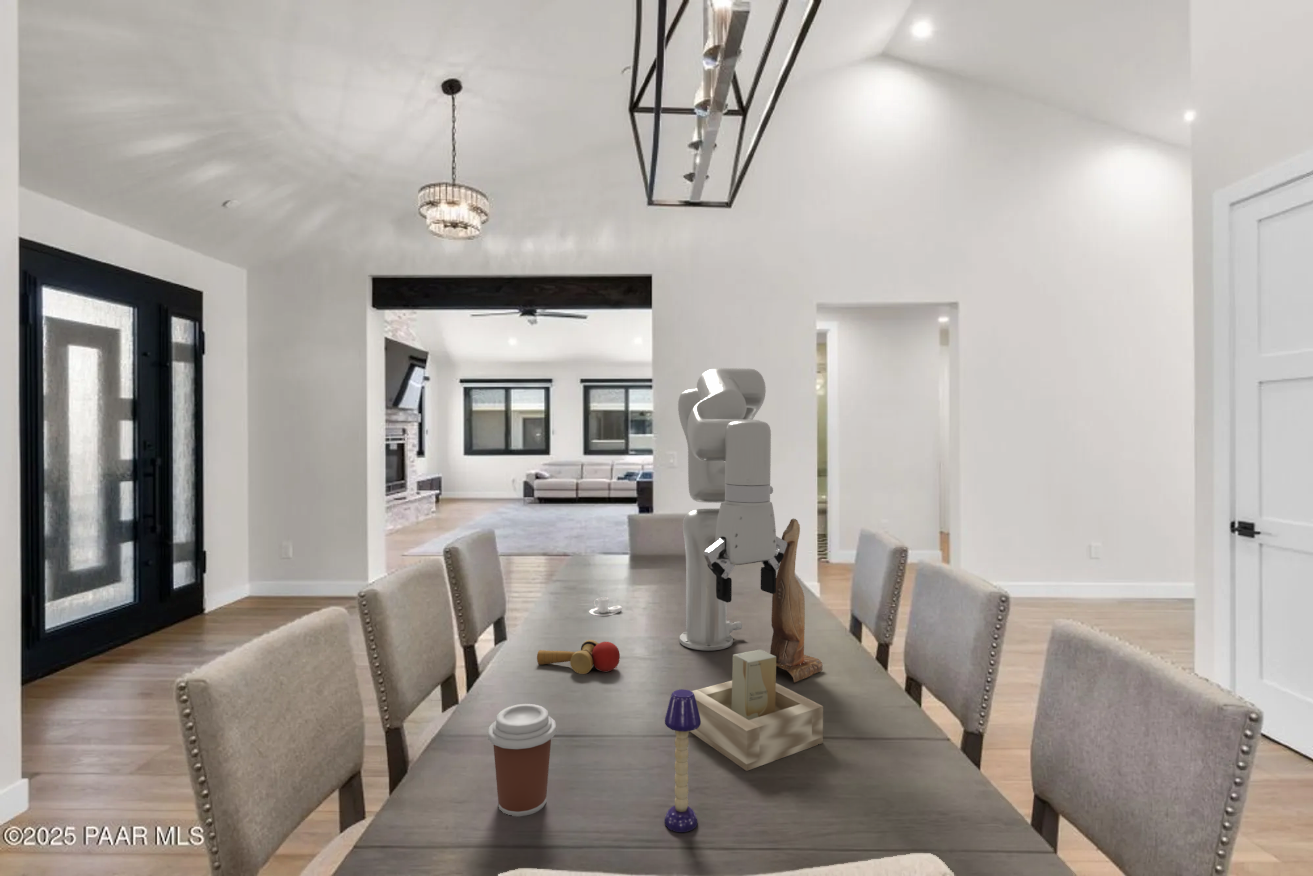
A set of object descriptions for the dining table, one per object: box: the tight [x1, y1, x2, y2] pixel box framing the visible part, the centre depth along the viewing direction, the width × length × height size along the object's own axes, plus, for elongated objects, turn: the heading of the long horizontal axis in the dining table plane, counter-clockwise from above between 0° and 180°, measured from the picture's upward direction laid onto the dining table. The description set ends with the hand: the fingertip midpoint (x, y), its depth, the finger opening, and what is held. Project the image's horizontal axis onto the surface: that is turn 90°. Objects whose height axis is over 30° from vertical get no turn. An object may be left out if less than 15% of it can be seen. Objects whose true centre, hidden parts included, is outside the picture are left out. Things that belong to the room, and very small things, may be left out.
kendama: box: [536, 639, 621, 675], centre depth 136 cm, size 8×6×18 cm
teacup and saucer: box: [588, 596, 623, 617], centre depth 177 cm, size 9×8×4 cm
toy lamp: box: [664, 688, 701, 833], centre depth 83 cm, size 5×5×17 cm
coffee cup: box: [487, 703, 557, 818], centre depth 87 cm, size 9×9×12 cm
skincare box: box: [731, 648, 777, 720], centre depth 107 cm, size 6×4×12 cm
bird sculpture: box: [770, 518, 824, 683], centre depth 135 cm, size 11×12×32 cm
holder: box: [689, 680, 824, 772], centre depth 106 cm, size 16×16×6 cm
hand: (746, 596), depth 108 cm, fingers open, 9 cm apart
